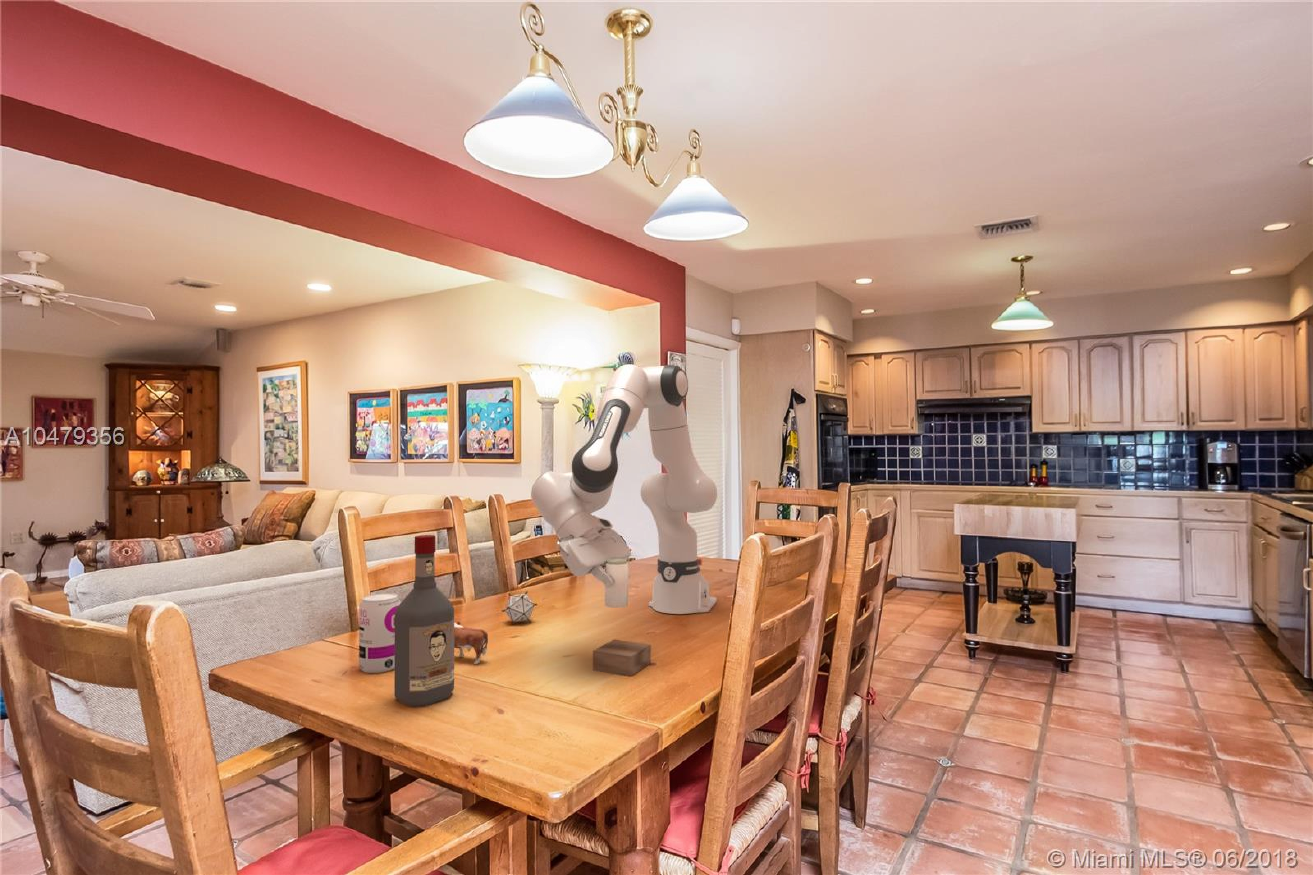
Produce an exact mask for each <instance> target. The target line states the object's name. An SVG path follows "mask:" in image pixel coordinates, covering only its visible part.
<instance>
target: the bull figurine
mask: <svg viewBox="0 0 1313 875" xmlns="http://www.w3.org/2000/svg"><path fill="white" fill-rule="evenodd" d="M488 635H489V633H488V632H487V631H486V630H484V629H478V628H469V627H466V626H464V625H461V622H460V621H456V622H455V621H454V649H459V654H458V658H463V657H465V654H464V651H463V649H467V652H471V650H472V649H474V653H475V655H476V656H475V658H474V660H475V661H474V663H473V665H474V664H475V665H476V664H477V665H478V664H479V663H480V659H482V656H485V655H486V653H487V650H488V641H489V636H488Z"/></svg>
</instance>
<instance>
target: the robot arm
mask: <svg viewBox="0 0 1313 875" xmlns="http://www.w3.org/2000/svg"><path fill="white" fill-rule="evenodd" d="M688 390H689V380H688V377H687V374H686V372H685V371H684V370H683V369H682V367H680V366H679V365H675V364H666V365H656V366H655V365H651V366H645V367H640V366H638V365H635V364H629V363H627V364H624V365H621V366H619V367H618V368H617V369H616V370H615V371H614V373H613V374H612V376H611V377H610V379H609V381H608V382H607V383H606V386H605V388H604V389H603V393H602V395H601V398H600V400H599V404H598V408H597V413H596V420H597V423H596V424H595V428H594V431H593V433H592V434H591V437H590V438H589V440H588V441H587V442H586V443H585V444H584V445H583V446H582V447H581V448H580V449H578V451H577V452H575V455H574V456H573V459H572V462H571V471H570V472H555V471H551V470H549V471H548V470H547V471H546V472H545V473H543V474H542V475H540V476H539V477H538V478H537V479H536V480H535V482H534V483H533V485H532V487H531V490H530V499H531V500H532V502H533V505H534V507H535V508H536V509H537V511H538V512H539V514H540V516H542V518H543V519H544V520H545V522H546V523H547V524H549V525H550V526H551V527H552V528H553V530H554V533H555V535H556V536H557V537H558V539H557V540H556V543H557V544H556V546H557V548H558V549H559V550H560V551H559V553H560V557H561V558H562V560H563V562H564V564H565V565H566V566H567V568H568V569H569V571H570V572H571V574H572V575H574V576H575V577H577V578H580V577H584V576H587V575H590V574H591V575H592V576H593V577H594V578H596V579H597V580H599V581H600V582H602V583H603V585H604V587H605V586H606V587H610V586H612V585H613V584H614V583H615V580H614V579H613V577H612V576H611V575H610V576H609V575H608V574H607V573H605V563H607V559H610V558H614V557H620V558H626V559H627V560H628V559H629V558H630V557H631V556H632V552H631V550H630V547H629V546H628V544H627V543H626V541H624V539H623V538H622V536H620V534H619V533H618V532H617V531H616V530H615V529H612V528H613V527H614V525H613V524H612V522H611V521H610V520H608V519H605V518H601V517H598V516H596V515H592V514H593V513H595V512H597V511H599V510H601V509H603V508H604V507H605V506H606V505H607V504H608V502H609V501H610V499H611V496H612V491H613V486H614V484H615V483H614V482H615V479H616V476H617V473H618V471H619V461H618V456H617V455H618V454H617V449H618V447H619V444H620V441H621V438H622V436H623V434H628V433H631V432H632V431H633V430H634V429H635V427H636V426H637V425H638V422H639V421H640V418H641V417H642V414H643V411H644V409H647V413H648V414H647V417H648V428H649V435H650V443H651V447H652V448H651V450H652V454H653V456H654V458H655V459H656V460H657V461H658V462H659V463H660V464H662V466H663V467H664V468H665V470H666V473H664V472H661V473H656V474H652V475H649V476H647V477H645V478H644V480H643V481H642V483H641V486H640V497H641V501H642V502H643V503H644V505H646V507H647V508H648V509H649V511H650V512H651V514H652V516H653V520H654V522H655V526H656V529H657V533H658V559H657V564H656V567H657V573H658V574H657V575H656V576H655V577H654V578H653V583H652V586H653V587H652V598H651V600H650V601H649V602H648V606H649V607H650V608H653V610H654V611H656V612H659V613H664V614H672V615H673V614H674V615H686V614H694V613H695V614H697V613H708V612H710V611H711V610H712V608H713V607H714V606H715V604H716V603H717V601H718V600H717V597H715V596H711V595H710V583H709V581H708V580H707V579H706V578H705V577H704V576H703V574H701V572H700V571H701V566H702V565H703V558H701V557H700V558H698V534H697V532H696V529H694V527H692V526H691V525H690V523H689V522H688V520H687V518H686V515H685V513H689V514H690V513H691V514H696V513H703V512H709V510H711V509H712V508H713V507H714V505H715V504H716V502H717V497H718V489H717V486H716V483H715V482H714V480H712V479H711V477H709V476H708V475H707V474H706V473H705V472H704V471H703V469H702V468H701V466H700V465H699V463H698V462H697V460H696V457H695V455H694V452H693V448H692V443H691V437H690V432H689V431H690V430H689V425H688V419H687V418H688V417H687V413H686V410H685V405H684V403H683V401H684V400H685V399H686V396H687V395H688ZM630 577H631V575H630V574H629V573H628V580H629V579H631V578H630Z"/></svg>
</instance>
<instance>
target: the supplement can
mask: <svg viewBox="0 0 1313 875" xmlns="http://www.w3.org/2000/svg"><path fill="white" fill-rule="evenodd" d="M401 602H402V601H401V600H400V598H399V595H398V594H397V593H390V592H387V593H385V592H384V593H373V594H369V595H364V597H362V599H361V601H360V603H359V605H358V606H359V609H358V613H359V614H358V615H359V616H358V619H359V620H358V623H359V624H358V629H359V630H358V668H359V669H360V670H361V672H363V673H366V674H367V673H368V674H380V673H387V672H390V671H393V670H395V612H396V609H397V607H398V606H399V605H400V603H401Z"/></svg>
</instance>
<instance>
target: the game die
mask: <svg viewBox="0 0 1313 875" xmlns="http://www.w3.org/2000/svg"><path fill="white" fill-rule="evenodd" d="M528 592H529V591H528V590H525V593H518V594H511V593H509V592H508V593H507V595H508V596H509V597H508V598H507V602H506V605H505V608H504V609H501V612H502V613H506V615H507V617H508V618H509V619H510V620H511V624H510V625H511V626H513V625H514V623H520V622H526V621H528V623H532V620H531V619H530V618H531V615H532V613H533V611H534V608H535V606H537V605H538V603H534V602H533V601H532V599H531V598H530V597H529V596H528Z"/></svg>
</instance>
